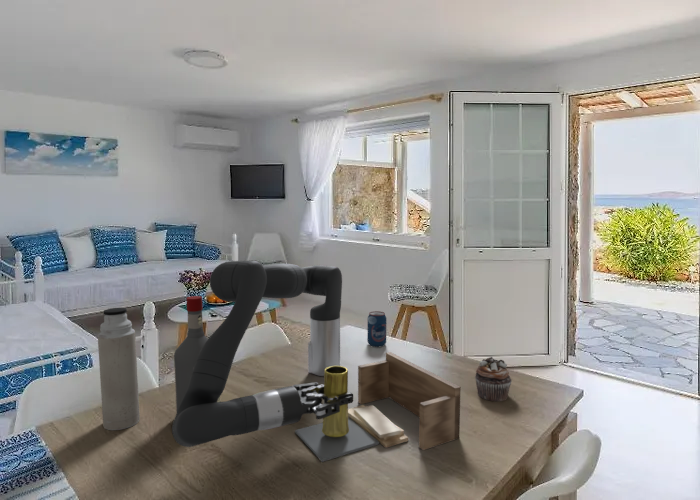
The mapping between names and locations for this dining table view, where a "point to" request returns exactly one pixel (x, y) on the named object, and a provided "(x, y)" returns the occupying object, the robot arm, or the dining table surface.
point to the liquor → (189, 348)
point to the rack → (407, 402)
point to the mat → (335, 441)
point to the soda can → (376, 329)
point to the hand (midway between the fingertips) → (345, 392)
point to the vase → (332, 387)
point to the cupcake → (493, 380)
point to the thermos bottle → (118, 371)
